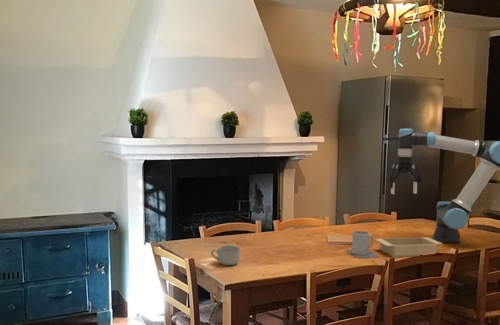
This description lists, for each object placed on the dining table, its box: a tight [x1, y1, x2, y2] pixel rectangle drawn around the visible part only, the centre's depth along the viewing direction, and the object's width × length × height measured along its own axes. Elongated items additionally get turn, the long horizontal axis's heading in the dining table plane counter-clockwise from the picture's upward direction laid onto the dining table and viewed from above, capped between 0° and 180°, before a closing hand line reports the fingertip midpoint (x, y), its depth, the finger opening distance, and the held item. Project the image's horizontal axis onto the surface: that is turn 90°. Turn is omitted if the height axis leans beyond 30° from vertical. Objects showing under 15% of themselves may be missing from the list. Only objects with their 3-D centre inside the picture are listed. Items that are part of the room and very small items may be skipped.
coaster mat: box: [346, 249, 380, 259], centre depth 248 cm, size 12×15×1 cm
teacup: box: [210, 244, 241, 266], centre depth 228 cm, size 14×11×8 cm
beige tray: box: [374, 236, 444, 258], centre depth 252 cm, size 31×17×6 cm, turn 100°
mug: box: [351, 230, 374, 255], centre depth 248 cm, size 12×8×11 cm
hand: (403, 193), depth 268 cm, fingers open, 13 cm apart
